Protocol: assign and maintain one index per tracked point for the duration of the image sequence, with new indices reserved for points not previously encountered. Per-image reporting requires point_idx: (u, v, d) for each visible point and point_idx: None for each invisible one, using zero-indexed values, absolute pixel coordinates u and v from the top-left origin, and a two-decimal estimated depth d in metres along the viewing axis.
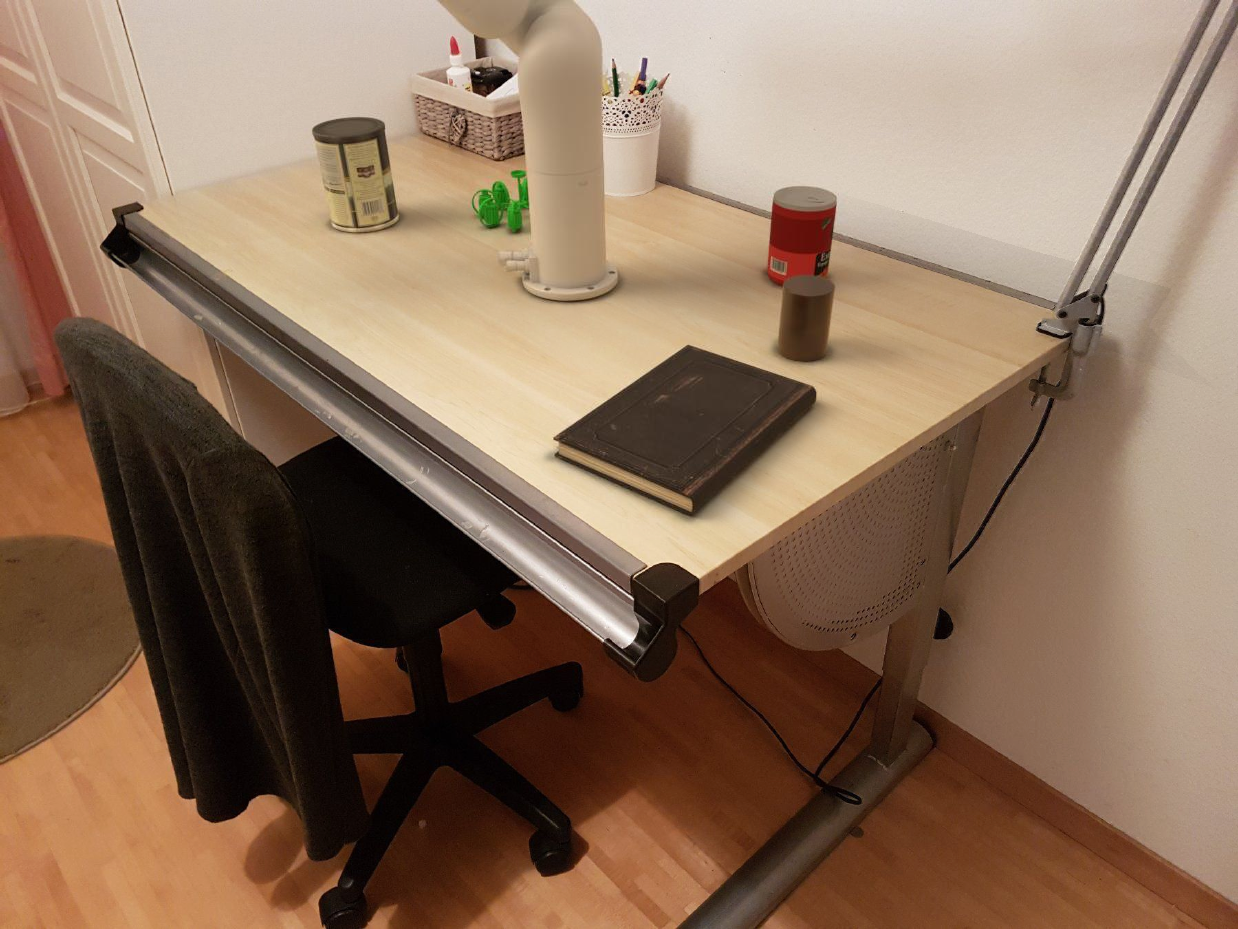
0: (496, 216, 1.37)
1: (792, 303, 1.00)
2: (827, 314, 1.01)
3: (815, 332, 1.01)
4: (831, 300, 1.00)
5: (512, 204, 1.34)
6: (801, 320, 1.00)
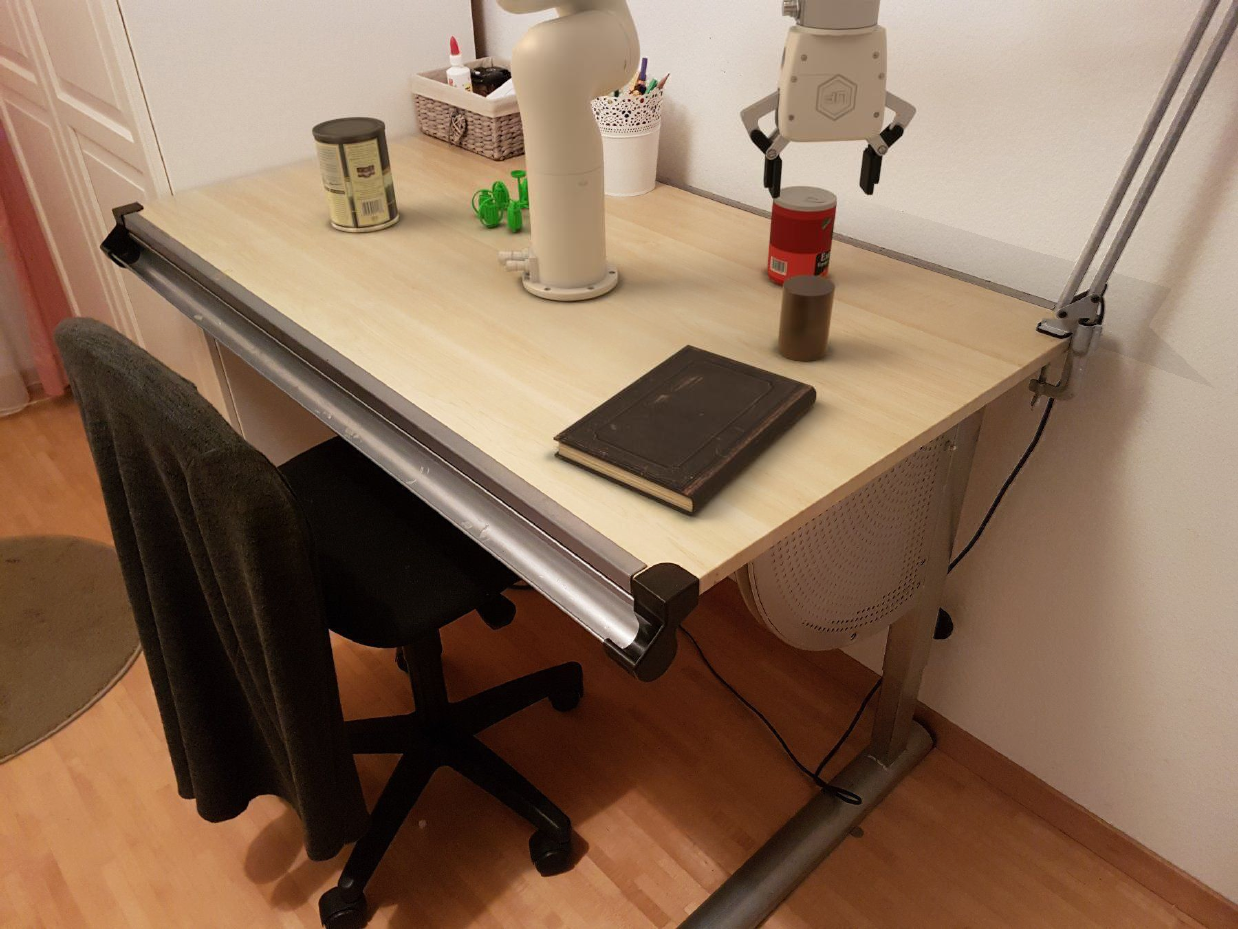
0: (496, 216, 1.37)
1: (792, 303, 1.00)
2: (827, 314, 1.01)
3: (815, 332, 1.01)
4: (831, 300, 1.00)
5: (512, 204, 1.34)
6: (801, 320, 1.00)
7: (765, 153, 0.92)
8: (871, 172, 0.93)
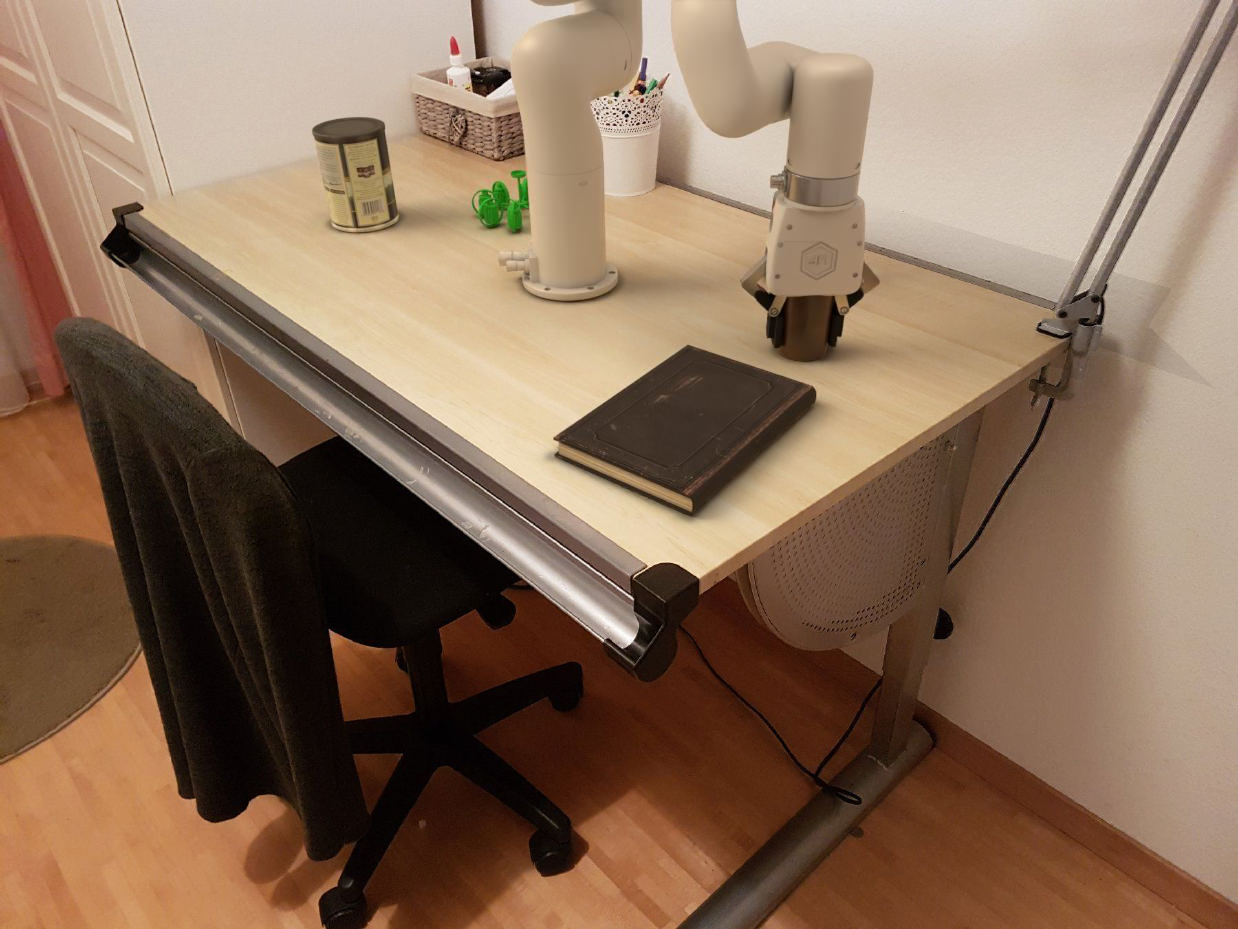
0: (496, 216, 1.37)
1: (792, 304, 1.00)
2: (827, 314, 1.01)
3: (815, 332, 1.01)
4: (831, 300, 1.00)
5: (512, 204, 1.34)
6: (801, 320, 1.00)
7: (768, 312, 1.01)
8: (834, 329, 1.02)
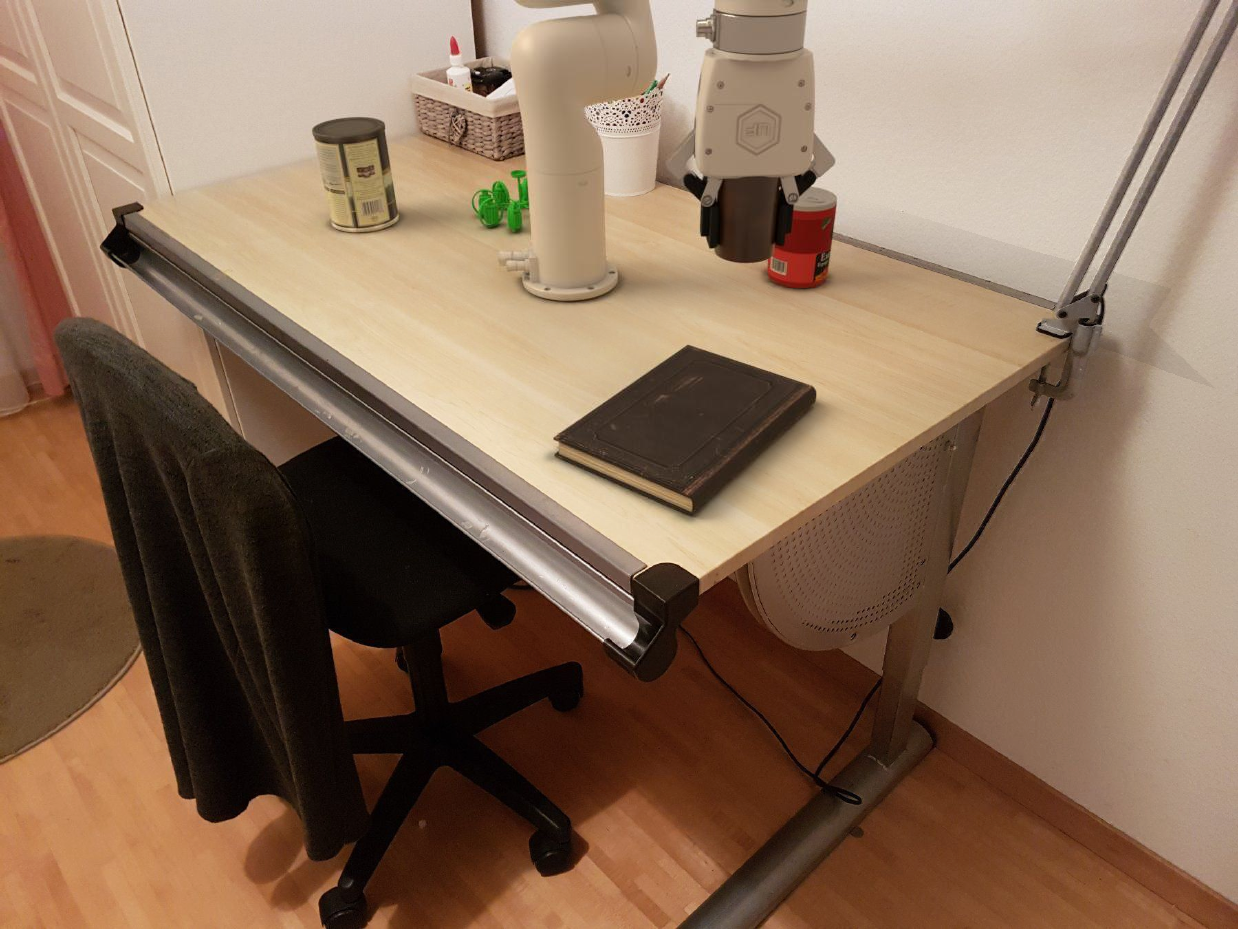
0: (496, 216, 1.37)
1: (728, 189, 0.82)
2: (773, 202, 0.82)
3: (758, 225, 0.83)
4: (776, 184, 0.82)
5: (512, 204, 1.34)
6: (740, 209, 0.82)
7: (701, 202, 0.83)
8: (781, 222, 0.84)
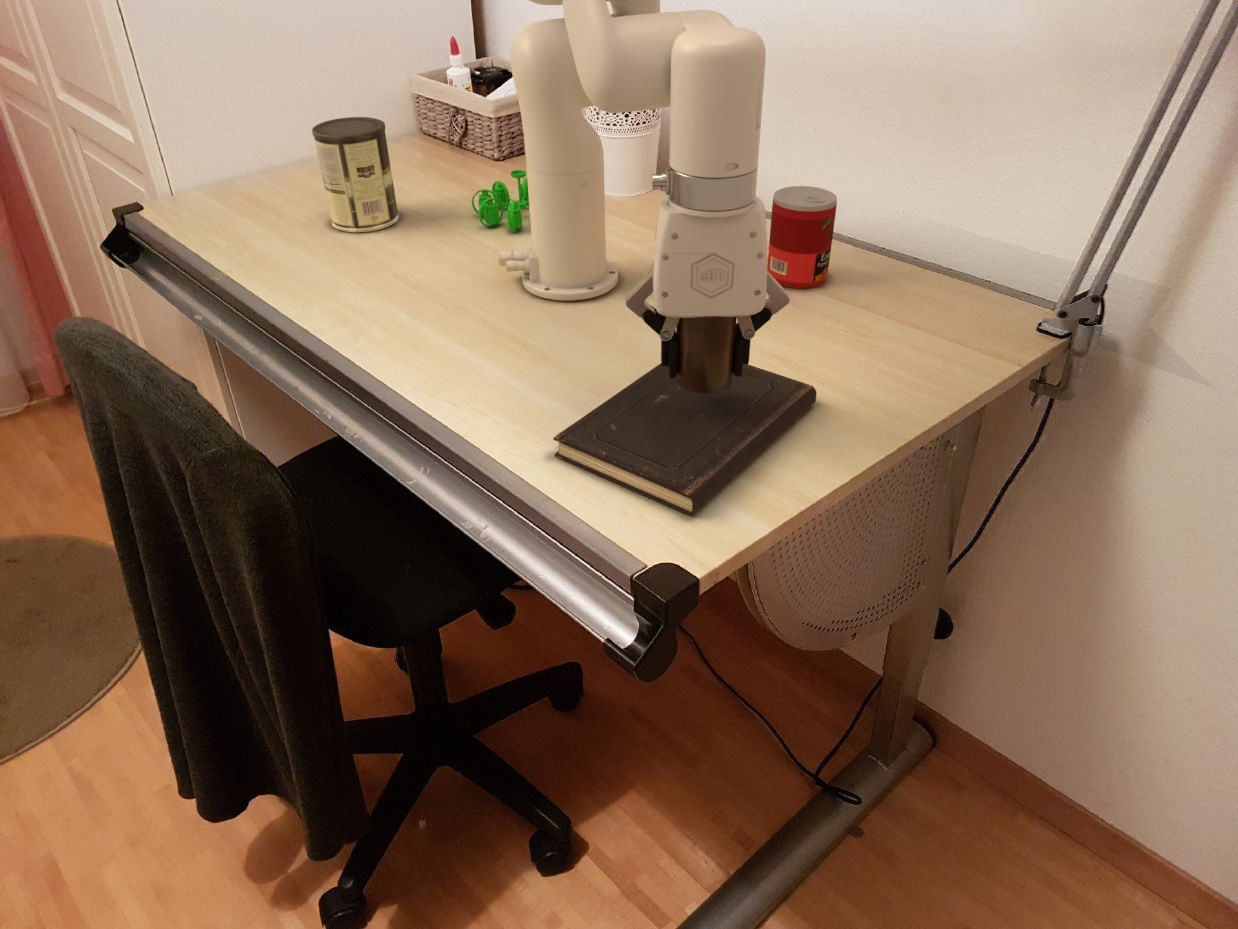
0: (496, 216, 1.37)
1: (685, 326, 0.85)
2: (729, 338, 0.85)
3: (715, 360, 0.86)
4: (732, 322, 0.85)
5: (512, 204, 1.34)
6: (697, 346, 0.85)
7: (660, 336, 0.86)
8: (738, 355, 0.87)
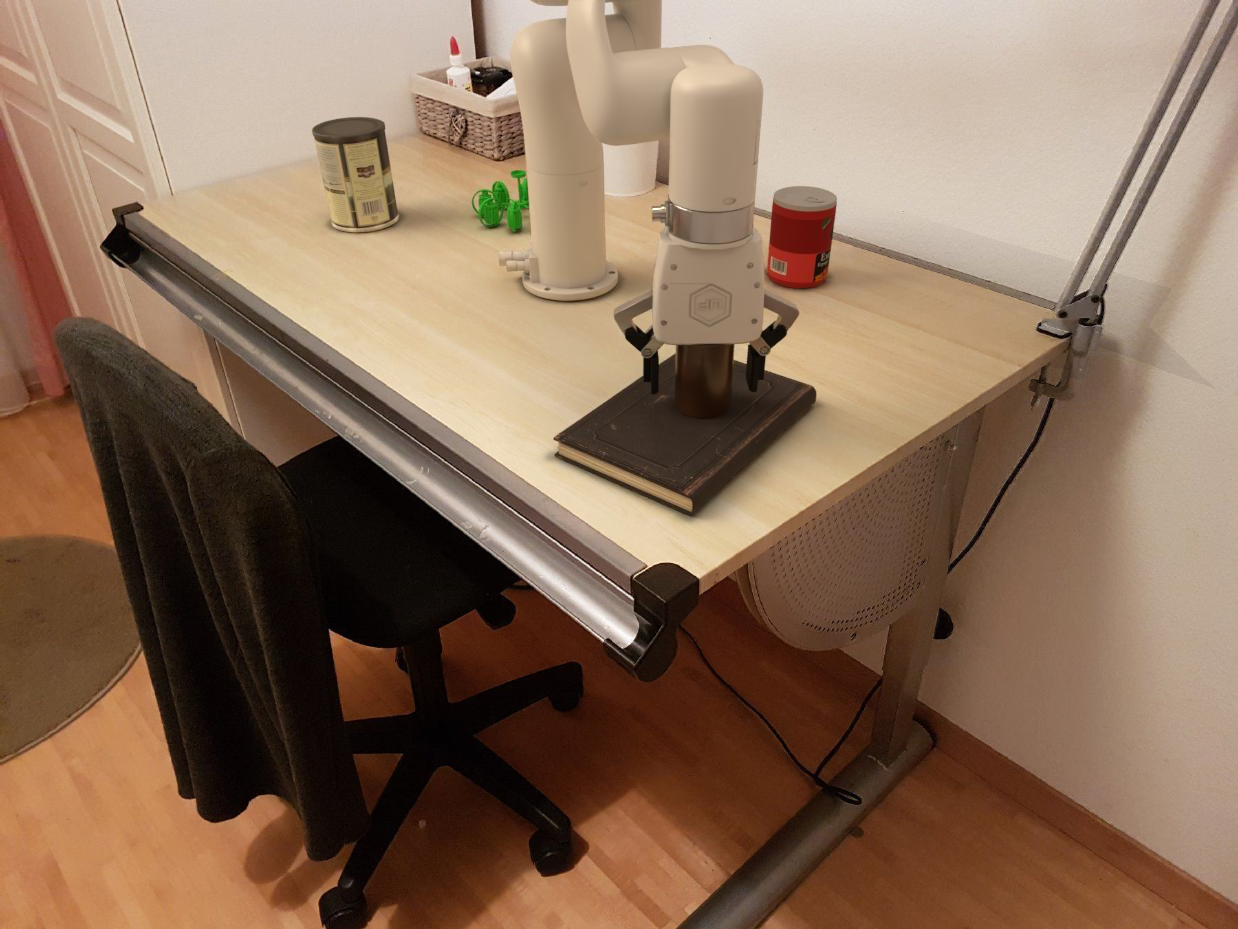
0: (496, 216, 1.37)
1: (684, 354, 0.86)
2: (727, 365, 0.87)
3: (713, 386, 0.87)
4: (730, 350, 0.86)
5: (512, 204, 1.34)
6: (695, 373, 0.87)
7: (641, 352, 0.87)
8: (754, 371, 0.88)
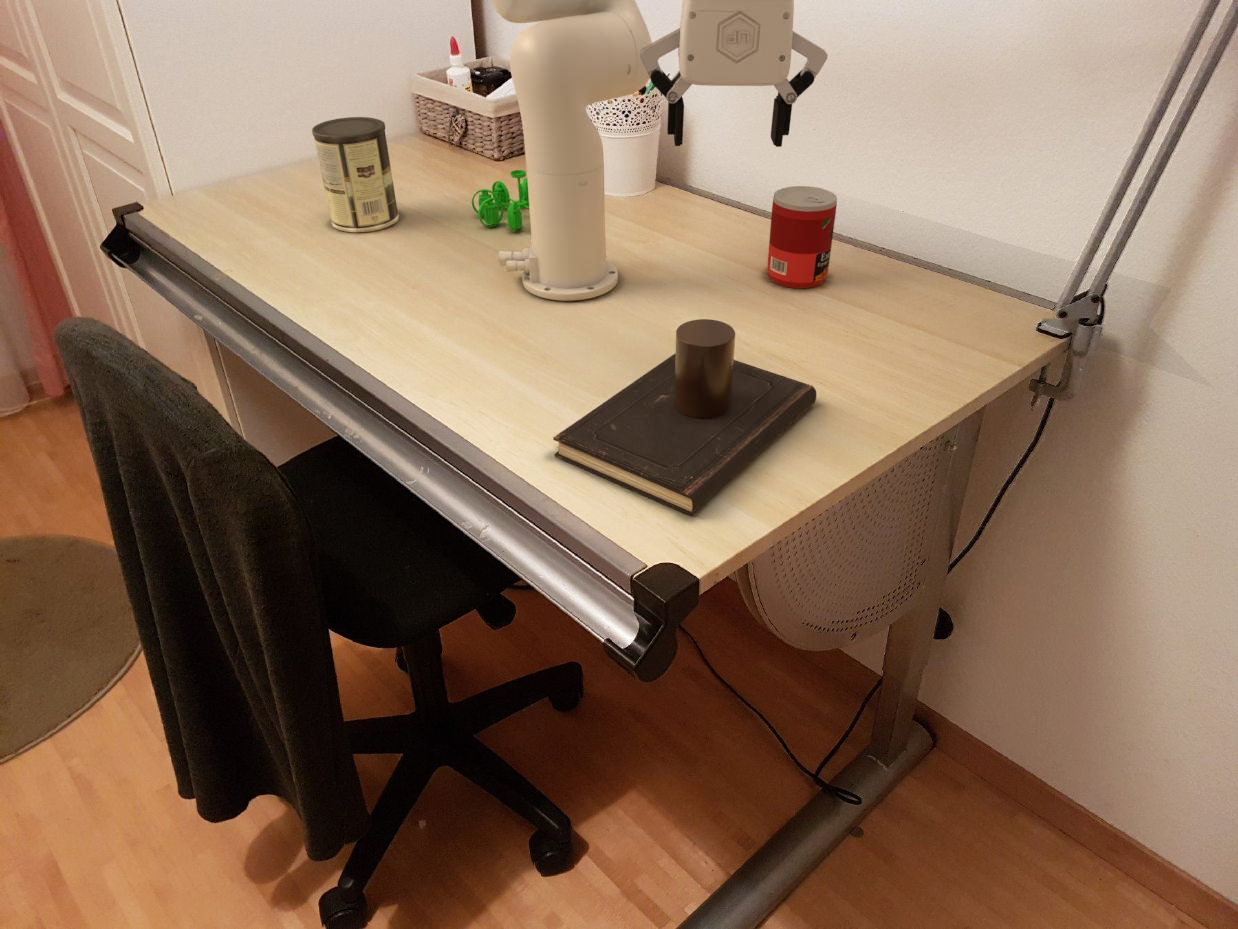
0: (496, 216, 1.37)
1: (684, 354, 0.86)
2: (727, 365, 0.87)
3: (713, 386, 0.87)
4: (730, 350, 0.86)
5: (512, 204, 1.34)
6: (695, 373, 0.87)
7: (666, 96, 0.86)
8: (779, 122, 0.87)
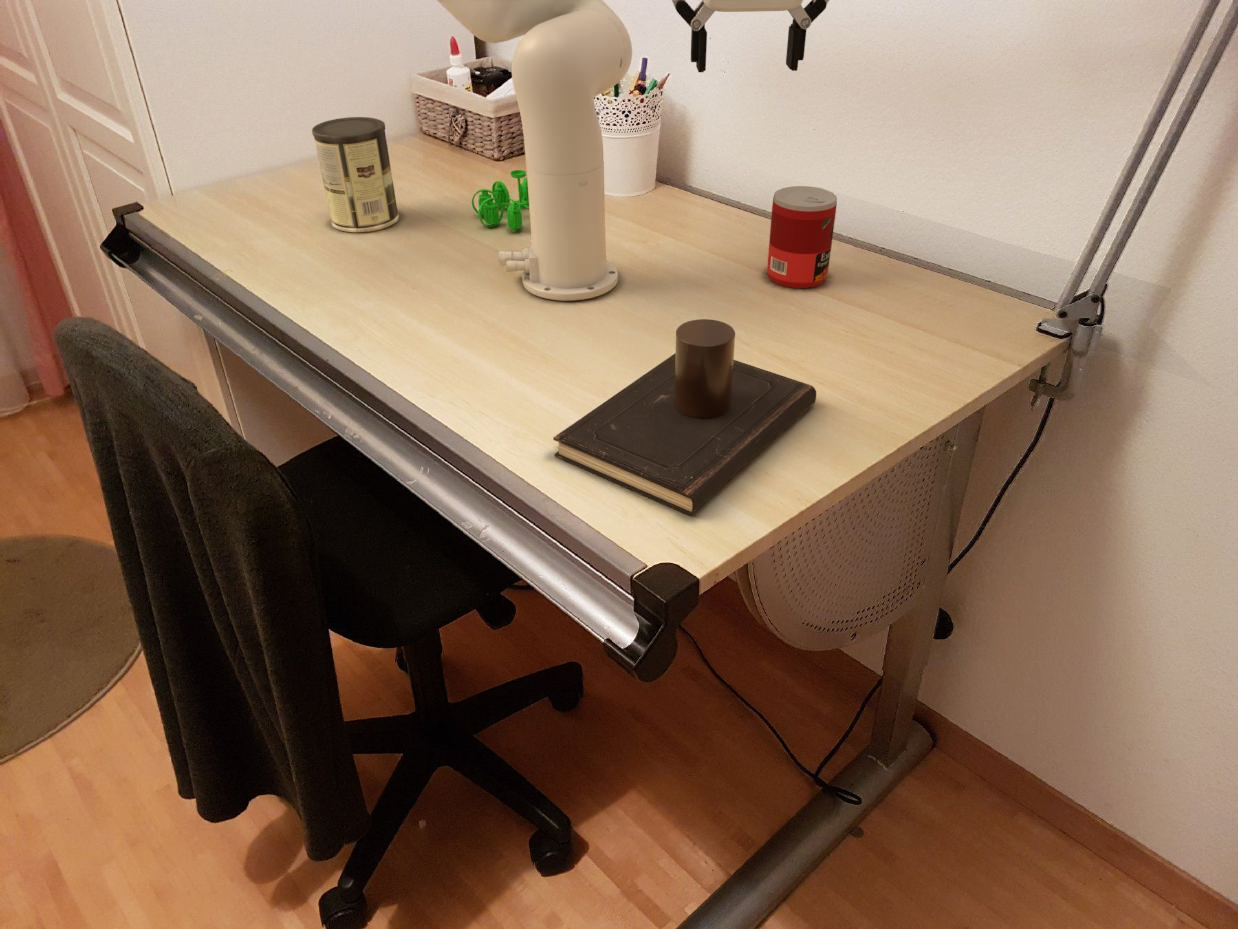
0: (496, 216, 1.37)
1: (684, 354, 0.86)
2: (727, 365, 0.87)
3: (713, 386, 0.87)
4: (730, 350, 0.86)
5: (512, 204, 1.34)
6: (695, 373, 0.87)
7: (690, 24, 0.93)
8: (795, 46, 0.94)
